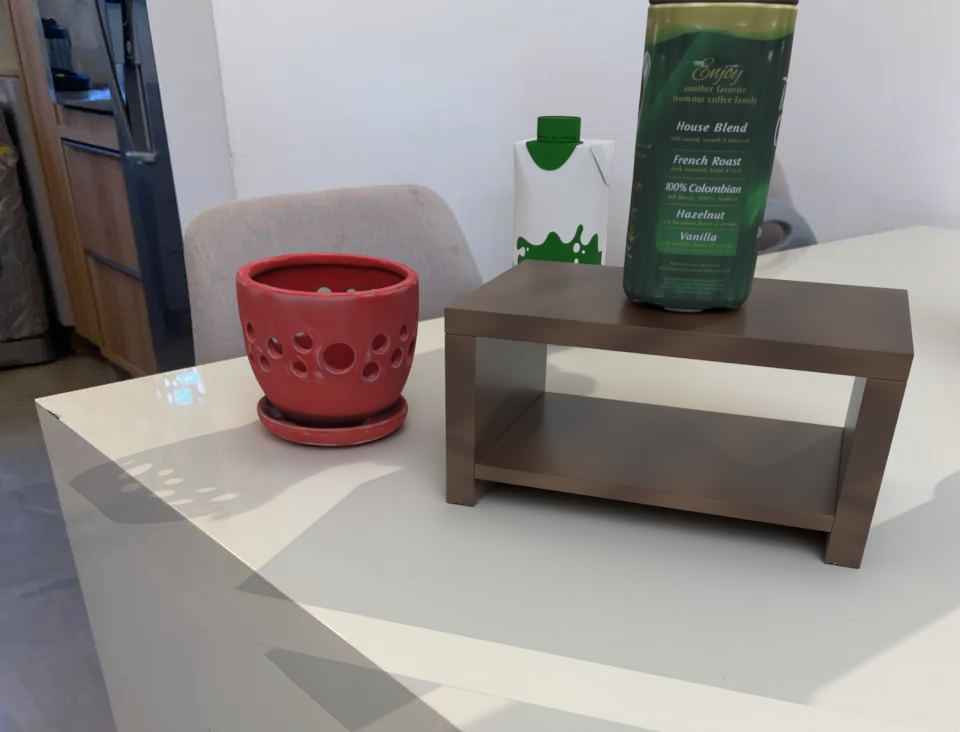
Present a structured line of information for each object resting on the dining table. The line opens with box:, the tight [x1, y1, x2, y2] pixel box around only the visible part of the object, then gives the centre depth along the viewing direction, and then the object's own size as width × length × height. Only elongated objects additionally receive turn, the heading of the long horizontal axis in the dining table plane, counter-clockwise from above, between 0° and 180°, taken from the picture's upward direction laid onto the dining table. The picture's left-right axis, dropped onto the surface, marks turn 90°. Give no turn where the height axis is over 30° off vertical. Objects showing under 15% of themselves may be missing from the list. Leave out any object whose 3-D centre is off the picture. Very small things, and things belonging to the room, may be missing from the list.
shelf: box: [443, 259, 915, 569], centre depth 62 cm, size 26×16×12 cm, turn 70°
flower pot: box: [235, 252, 420, 447], centre depth 71 cm, size 13×13×12 cm
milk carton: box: [512, 115, 617, 267], centre depth 93 cm, size 9×9×20 cm
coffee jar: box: [623, 0, 800, 313], centre depth 53 cm, size 10×8×19 cm
